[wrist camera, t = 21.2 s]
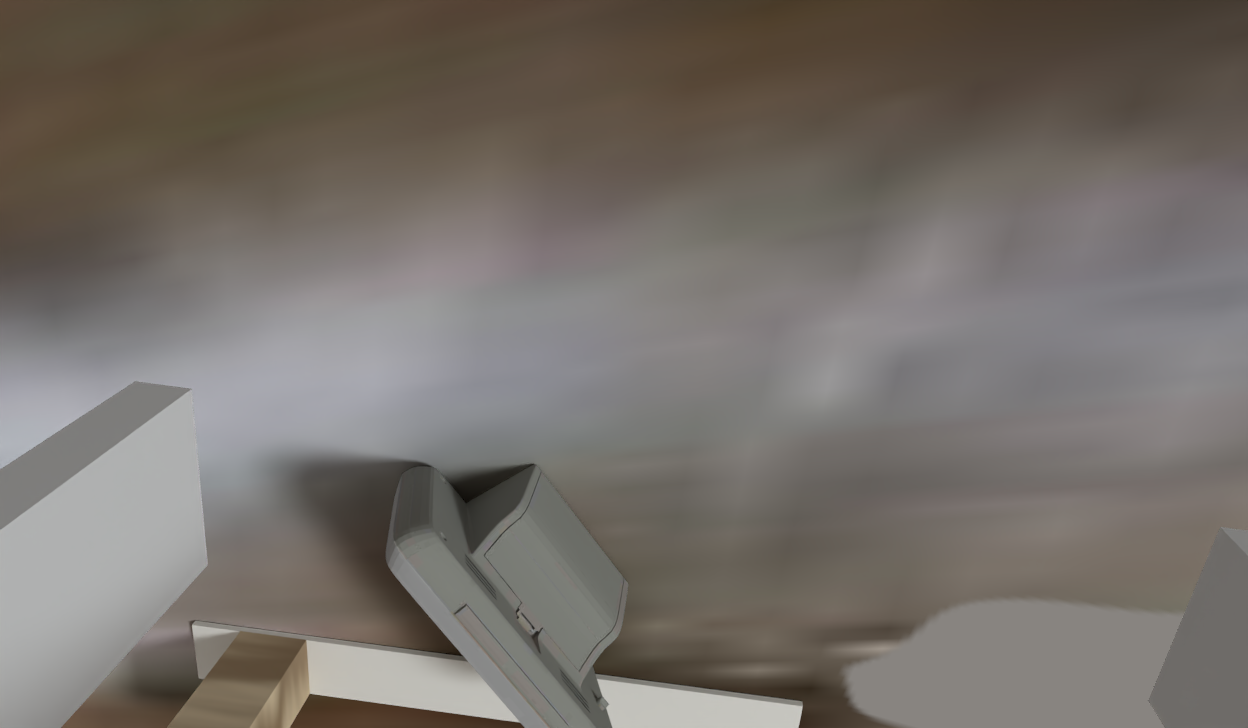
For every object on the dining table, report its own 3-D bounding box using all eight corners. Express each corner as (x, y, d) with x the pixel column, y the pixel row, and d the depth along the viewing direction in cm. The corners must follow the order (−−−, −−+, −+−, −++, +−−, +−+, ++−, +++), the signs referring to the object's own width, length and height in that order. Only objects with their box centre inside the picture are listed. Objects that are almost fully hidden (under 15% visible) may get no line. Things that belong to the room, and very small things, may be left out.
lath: (195, 620, 54) (191, 624, 53) (802, 701, 51) (802, 706, 51) (202, 673, 55) (198, 678, 55) (791, 754, 53) (792, 759, 53)
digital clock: (392, 456, 48) (308, 572, 38) (543, 403, 46) (495, 511, 36) (519, 686, 53) (474, 841, 43) (660, 647, 51) (647, 800, 41)
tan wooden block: (240, 631, 53) (149, 750, 45) (306, 639, 53) (227, 762, 44) (245, 684, 55) (158, 810, 46) (309, 693, 54) (234, 821, 46)
